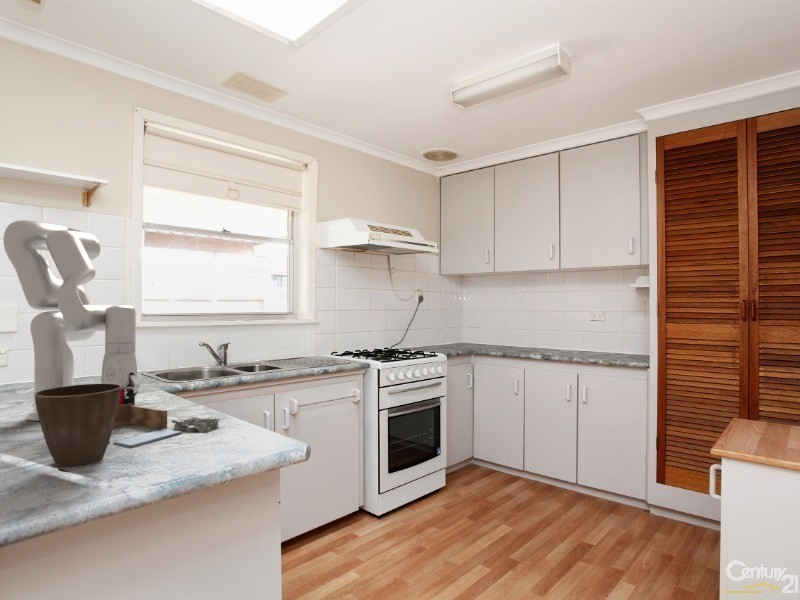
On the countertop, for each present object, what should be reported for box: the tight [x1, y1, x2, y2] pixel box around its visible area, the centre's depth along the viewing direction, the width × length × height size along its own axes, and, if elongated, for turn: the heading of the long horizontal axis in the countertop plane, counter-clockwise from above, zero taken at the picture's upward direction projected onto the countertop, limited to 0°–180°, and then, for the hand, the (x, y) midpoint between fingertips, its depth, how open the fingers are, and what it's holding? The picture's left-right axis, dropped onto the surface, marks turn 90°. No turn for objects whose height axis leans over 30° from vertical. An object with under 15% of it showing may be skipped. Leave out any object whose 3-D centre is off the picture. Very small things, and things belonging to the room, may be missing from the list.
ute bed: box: [108, 403, 168, 445], centre depth 119 cm, size 16×16×6 cm
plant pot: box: [33, 383, 121, 473], centre depth 98 cm, size 15×15×16 cm
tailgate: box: [113, 428, 182, 449], centre depth 114 cm, size 1×13×6 cm
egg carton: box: [171, 416, 221, 433], centre depth 124 cm, size 11×8×4 cm
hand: (120, 410), depth 136 cm, fingers closed on soda can, 7 cm apart
